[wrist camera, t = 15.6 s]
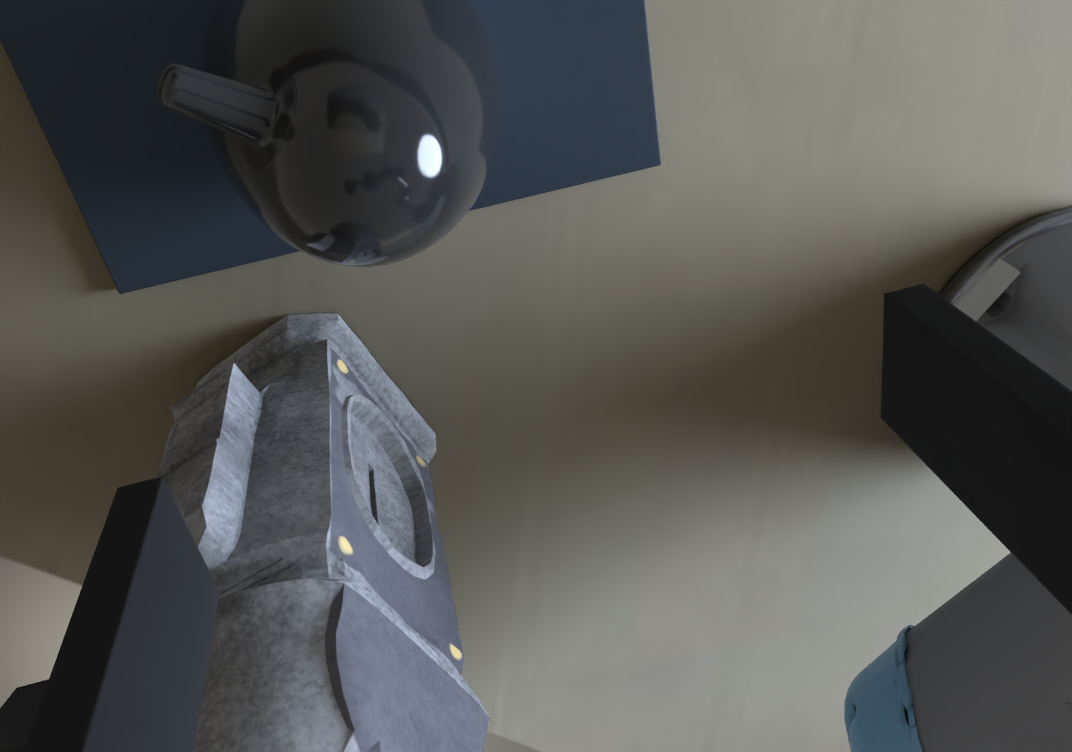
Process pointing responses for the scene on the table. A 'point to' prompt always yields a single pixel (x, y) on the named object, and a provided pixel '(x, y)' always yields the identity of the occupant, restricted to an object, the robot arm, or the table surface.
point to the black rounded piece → (348, 118)
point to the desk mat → (192, 167)
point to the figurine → (319, 553)
